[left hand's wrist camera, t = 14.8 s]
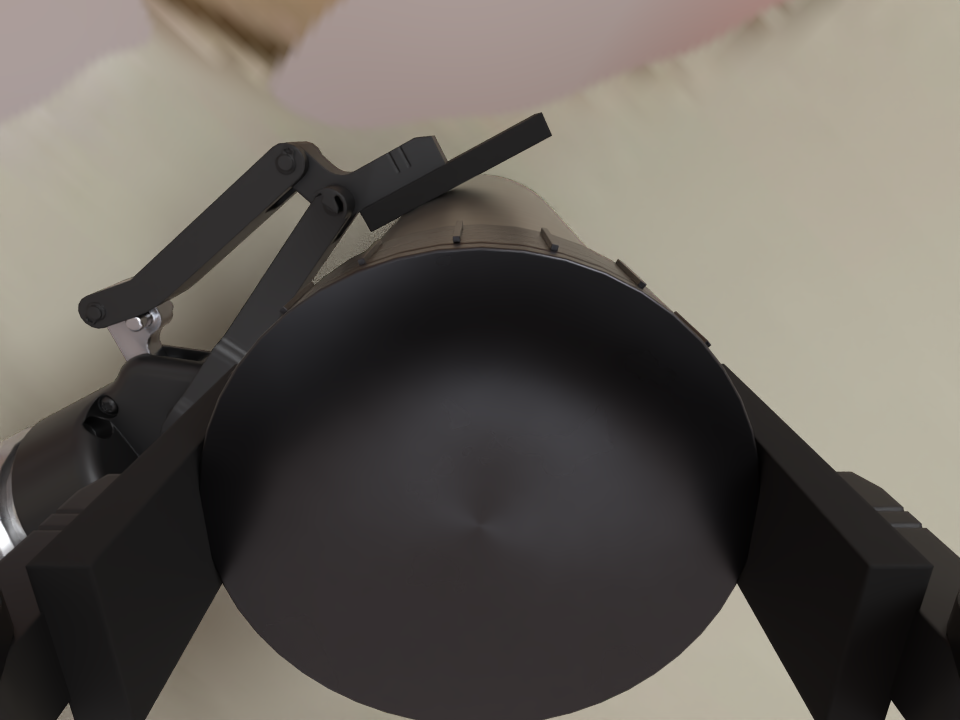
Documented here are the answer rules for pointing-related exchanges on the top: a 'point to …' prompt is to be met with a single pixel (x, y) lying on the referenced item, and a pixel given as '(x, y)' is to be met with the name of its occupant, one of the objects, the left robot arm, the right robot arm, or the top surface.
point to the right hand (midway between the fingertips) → (597, 249)
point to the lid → (479, 478)
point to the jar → (484, 209)
